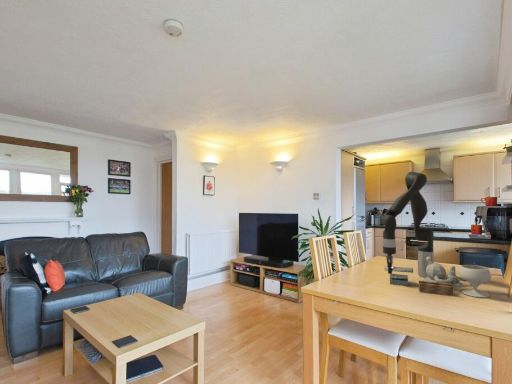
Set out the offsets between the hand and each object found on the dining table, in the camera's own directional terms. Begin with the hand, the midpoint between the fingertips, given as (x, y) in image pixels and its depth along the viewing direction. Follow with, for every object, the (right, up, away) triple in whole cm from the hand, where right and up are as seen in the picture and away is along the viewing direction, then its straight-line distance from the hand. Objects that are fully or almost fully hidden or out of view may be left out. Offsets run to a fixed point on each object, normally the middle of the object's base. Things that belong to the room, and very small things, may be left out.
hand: (390, 272), depth 176 cm
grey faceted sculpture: (+32, -6, -3) cm, 33 cm away
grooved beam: (+16, -5, -21) cm, 26 cm away
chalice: (+35, -5, -25) cm, 43 cm away
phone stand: (+53, -6, 0) cm, 53 cm away
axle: (+4, +3, -2) cm, 6 cm away
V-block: (+4, -6, -2) cm, 8 cm away
